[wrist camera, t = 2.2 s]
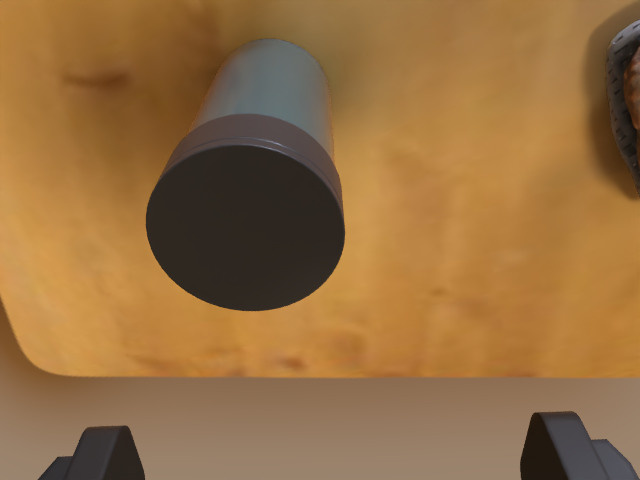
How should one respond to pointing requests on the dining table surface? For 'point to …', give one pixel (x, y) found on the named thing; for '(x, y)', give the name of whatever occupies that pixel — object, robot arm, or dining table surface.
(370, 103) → the dining table surface
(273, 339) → the dining table surface
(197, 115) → the jar
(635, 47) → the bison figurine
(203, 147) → the jar lid
